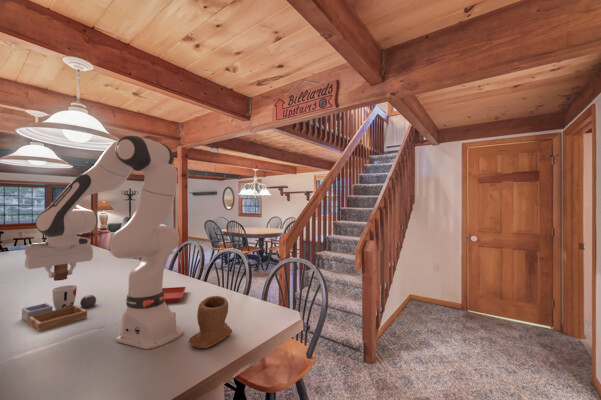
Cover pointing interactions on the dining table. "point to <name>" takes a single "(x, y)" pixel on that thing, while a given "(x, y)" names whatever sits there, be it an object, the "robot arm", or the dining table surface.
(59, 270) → the walnut peg
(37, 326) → the oak tray
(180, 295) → the plant saucer
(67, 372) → the dining table surface
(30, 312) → the pen pot
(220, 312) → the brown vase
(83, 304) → the dark gray ball
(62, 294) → the cup
